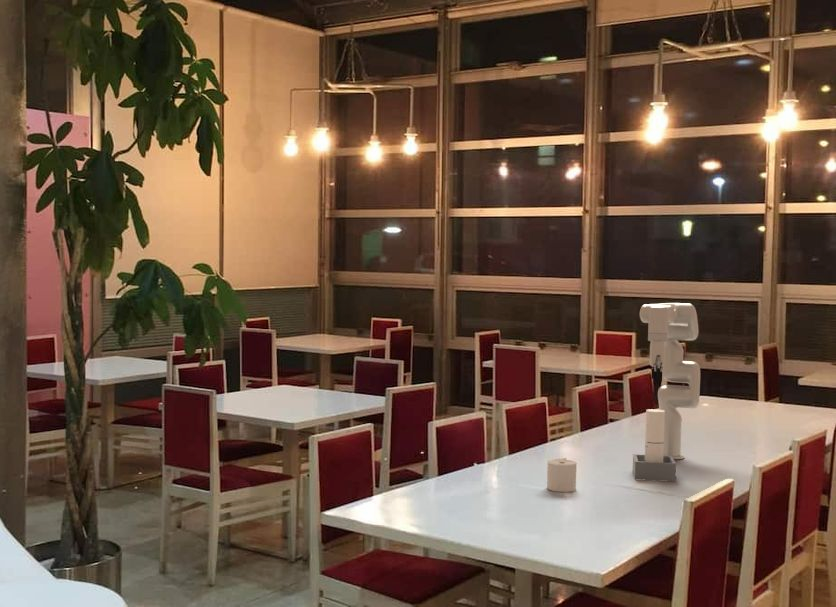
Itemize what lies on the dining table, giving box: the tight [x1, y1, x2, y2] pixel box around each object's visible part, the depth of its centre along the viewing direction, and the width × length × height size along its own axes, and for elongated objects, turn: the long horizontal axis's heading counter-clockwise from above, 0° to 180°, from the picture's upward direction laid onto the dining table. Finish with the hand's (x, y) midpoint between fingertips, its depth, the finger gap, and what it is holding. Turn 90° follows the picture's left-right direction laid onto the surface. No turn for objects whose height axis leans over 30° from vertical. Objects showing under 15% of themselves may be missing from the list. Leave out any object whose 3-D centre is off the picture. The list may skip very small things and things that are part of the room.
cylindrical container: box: [644, 408, 665, 463], centre depth 377 cm, size 7×7×25 cm
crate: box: [632, 453, 677, 482], centre depth 377 cm, size 15×15×7 cm
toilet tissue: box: [546, 457, 578, 493], centre depth 353 cm, size 11×12×10 cm
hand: (656, 380), depth 377 cm, fingers open, 9 cm apart
